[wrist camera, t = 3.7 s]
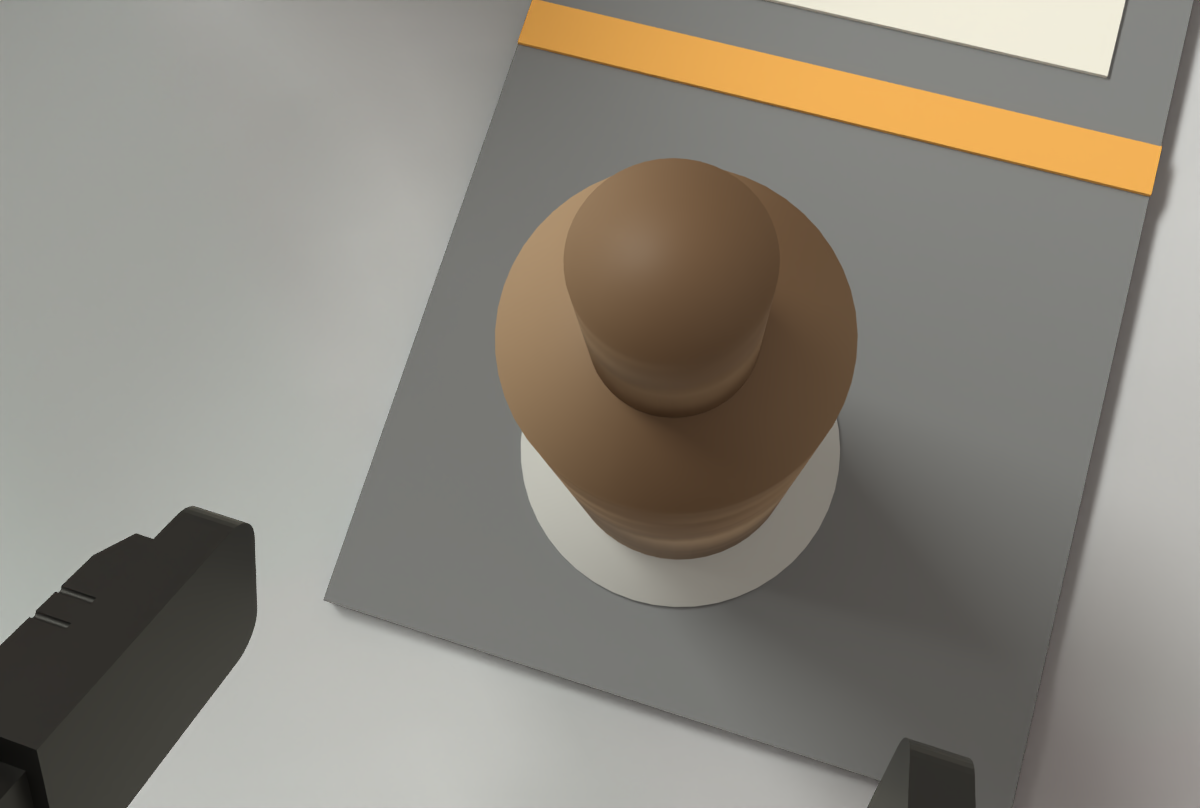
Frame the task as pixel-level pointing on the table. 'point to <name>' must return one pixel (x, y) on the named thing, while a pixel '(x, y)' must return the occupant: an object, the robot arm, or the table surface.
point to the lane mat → (880, 381)
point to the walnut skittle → (676, 352)
